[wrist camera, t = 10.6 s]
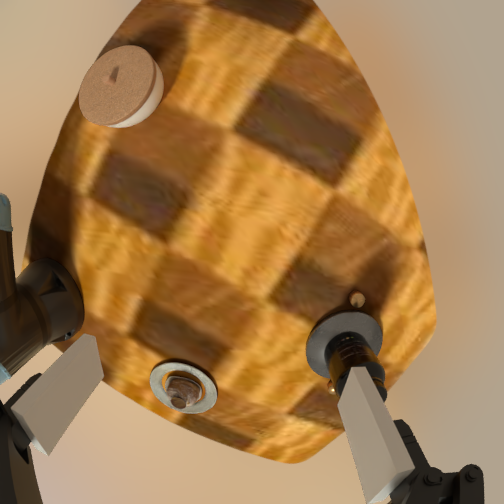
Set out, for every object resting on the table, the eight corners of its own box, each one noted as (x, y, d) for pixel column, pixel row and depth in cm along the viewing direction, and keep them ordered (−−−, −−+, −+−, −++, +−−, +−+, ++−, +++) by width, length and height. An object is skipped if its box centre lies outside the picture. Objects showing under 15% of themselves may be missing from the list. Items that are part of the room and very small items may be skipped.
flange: (297, 388, 40) (297, 394, 39) (315, 288, 36) (317, 292, 35) (364, 387, 40) (366, 392, 39) (392, 291, 36) (397, 295, 34)
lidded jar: (177, 123, 32) (150, 104, 23) (109, 143, 33) (70, 134, 24) (172, 57, 30) (148, 27, 21) (107, 80, 31) (73, 60, 21)
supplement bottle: (367, 360, 38) (393, 411, 26) (325, 371, 38) (341, 427, 27) (365, 323, 36) (397, 372, 24) (320, 335, 37) (338, 390, 25)
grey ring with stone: (206, 417, 44) (202, 434, 39) (146, 393, 43) (138, 408, 39) (227, 375, 41) (223, 394, 37) (158, 348, 40) (148, 363, 36)
